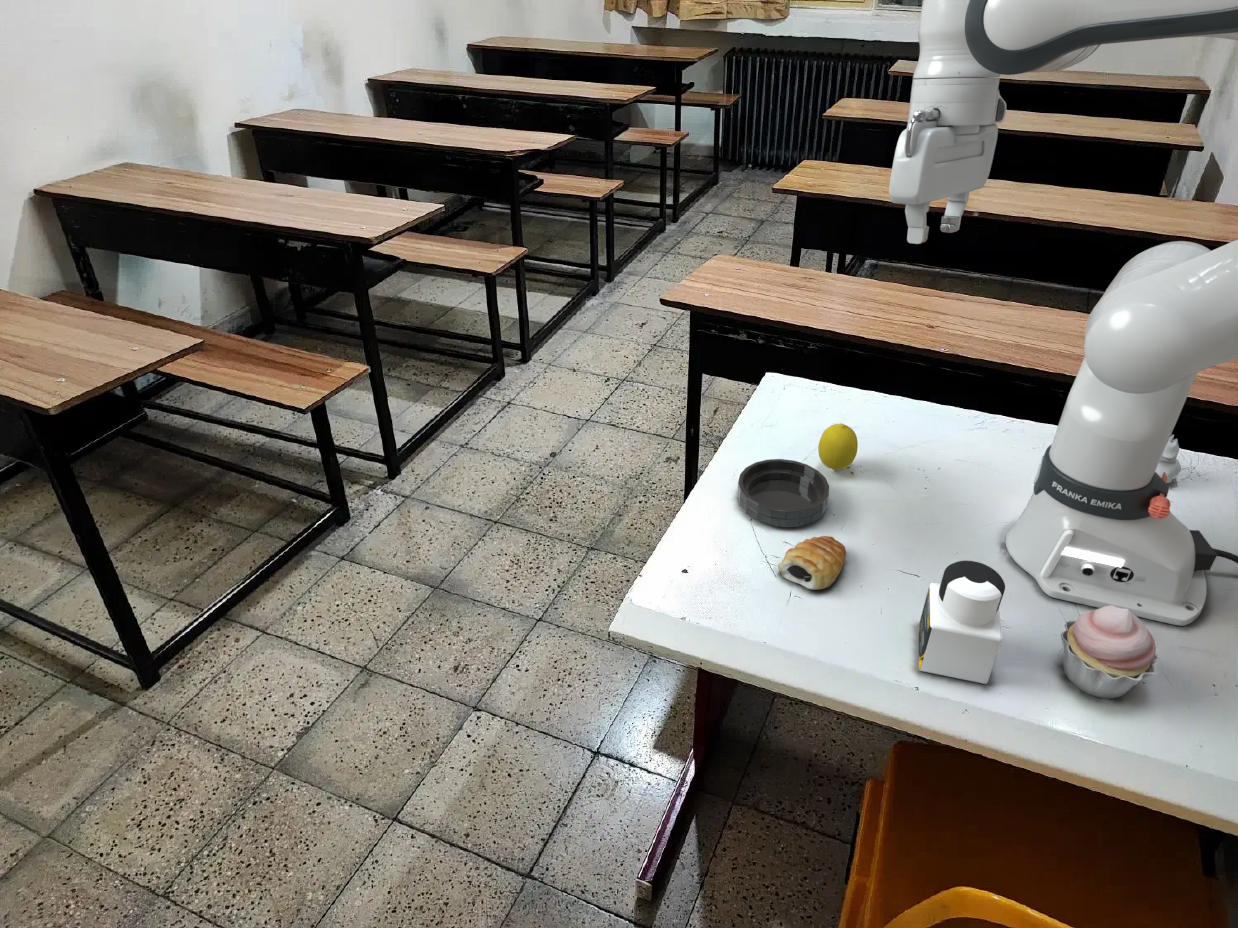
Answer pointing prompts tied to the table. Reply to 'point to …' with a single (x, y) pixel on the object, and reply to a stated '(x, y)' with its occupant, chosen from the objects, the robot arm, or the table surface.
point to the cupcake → (1108, 651)
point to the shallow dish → (783, 492)
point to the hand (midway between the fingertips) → (933, 237)
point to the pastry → (814, 562)
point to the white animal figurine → (1169, 460)
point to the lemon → (838, 446)
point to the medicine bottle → (962, 623)
